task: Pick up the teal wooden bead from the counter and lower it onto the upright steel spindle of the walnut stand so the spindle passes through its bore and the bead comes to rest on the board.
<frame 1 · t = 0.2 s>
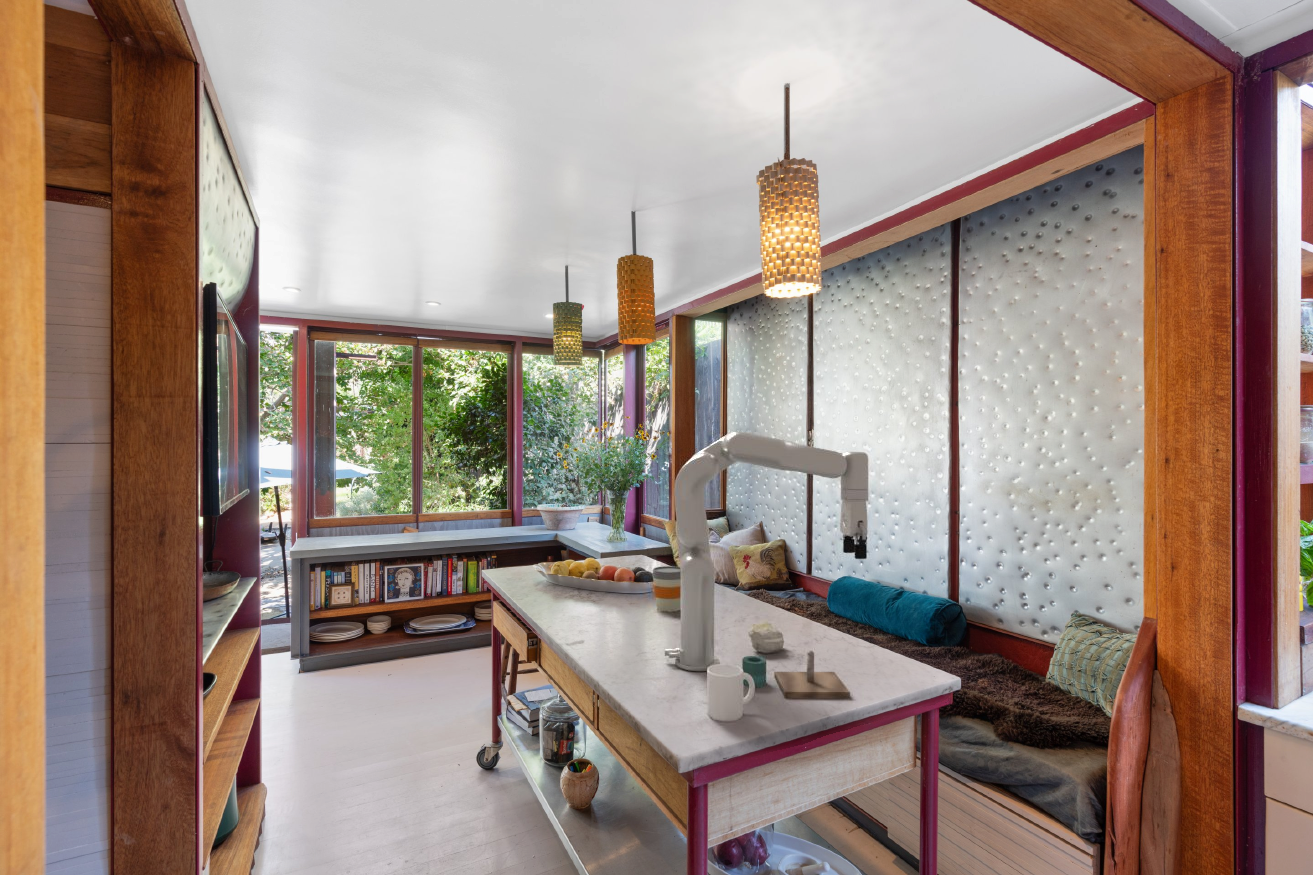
hand: (854, 555, 180), 31 cm above the table, tool pointing down, fingers open, 9 cm apart
spindle stand: (810, 687, 163), on the table
bead: (754, 682, 166), on the table
reusable coffee cup: (668, 609, 241), on the table
mug: (732, 714, 147), on the table
fossil replica: (767, 651, 192), on the table
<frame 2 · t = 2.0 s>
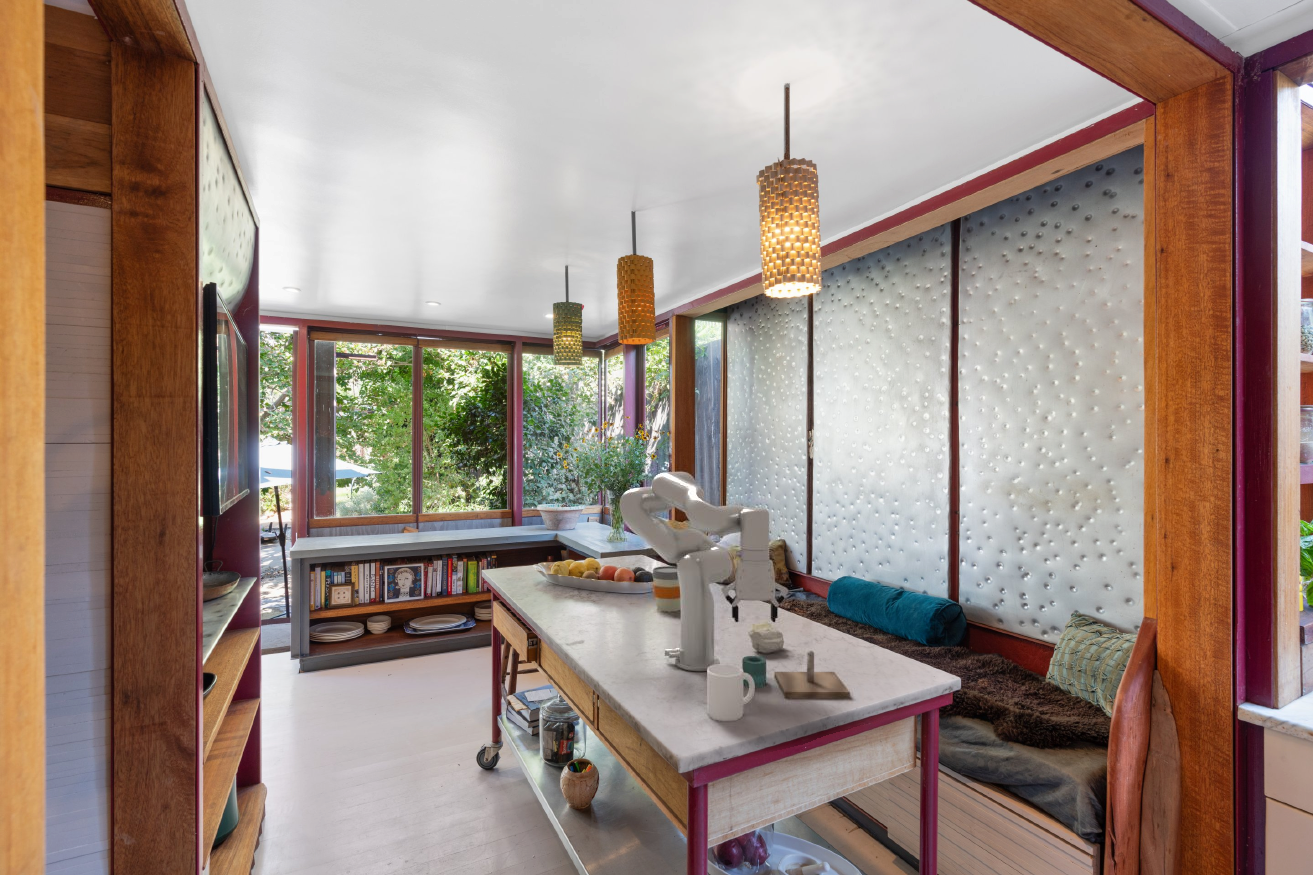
hand: (754, 620, 166), 16 cm above the table, tool pointing down, fingers open, 9 cm apart
nothing on the table moved.
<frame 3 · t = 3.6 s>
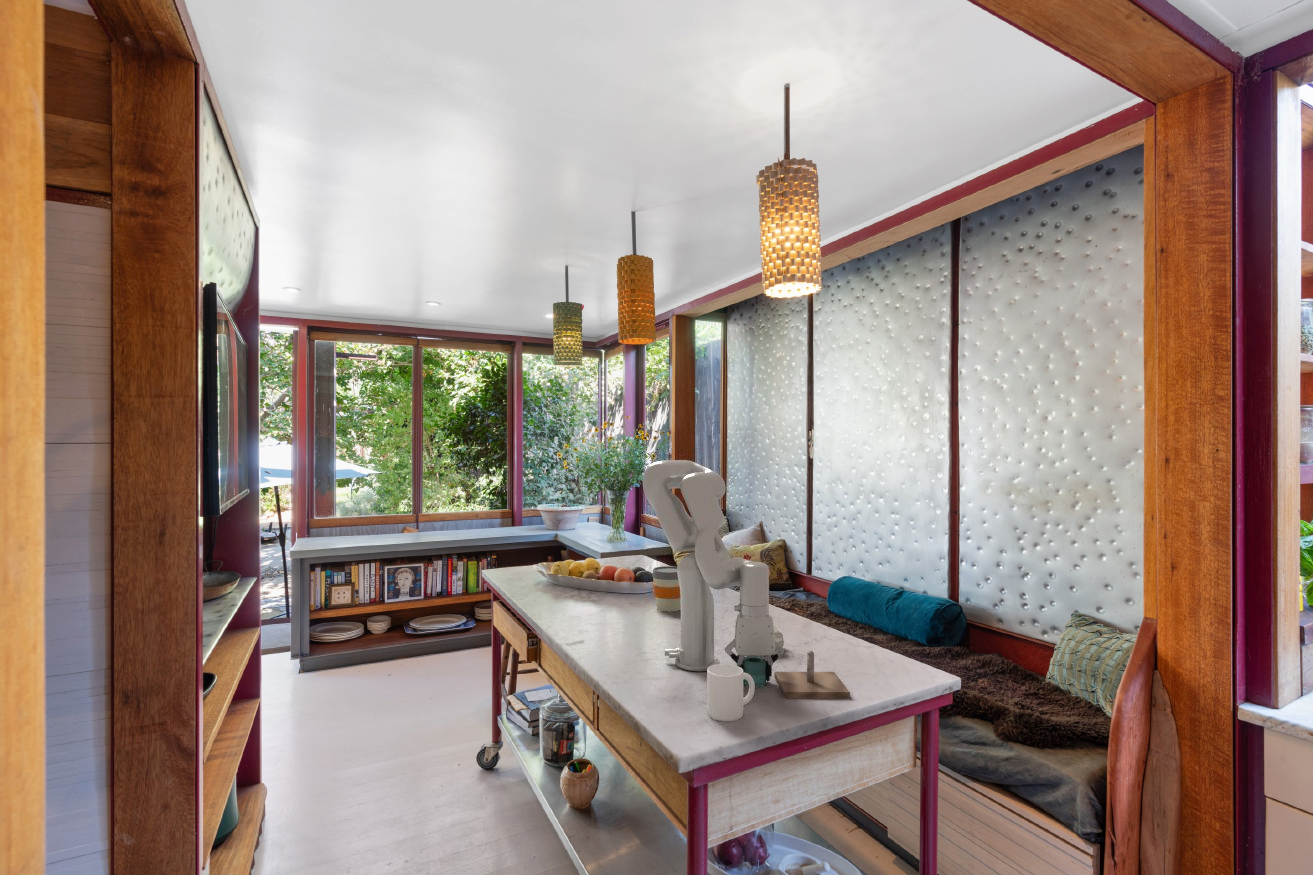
hand: (754, 678, 166), 1 cm above the table, tool pointing down, fingers closed on bead, 6 cm apart
bead: (754, 682, 166), on the table, touching gripper
everything else where it was.
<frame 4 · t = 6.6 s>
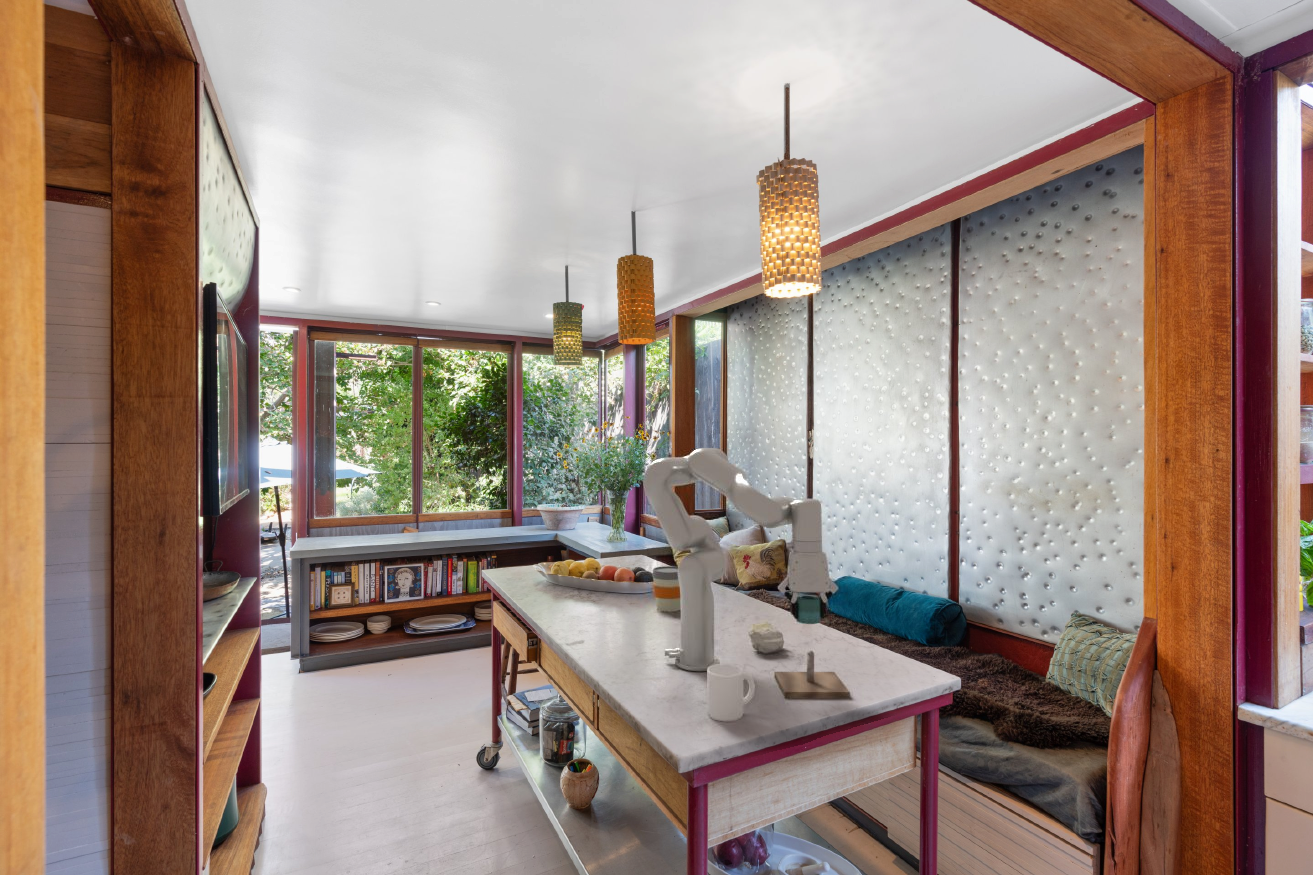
hand: (808, 616, 163), 18 cm above the table, tool pointing down, fingers closed on bead, 6 cm apart
bead: (808, 620, 163), point 17 cm above the table, touching gripper
everything else where it was.
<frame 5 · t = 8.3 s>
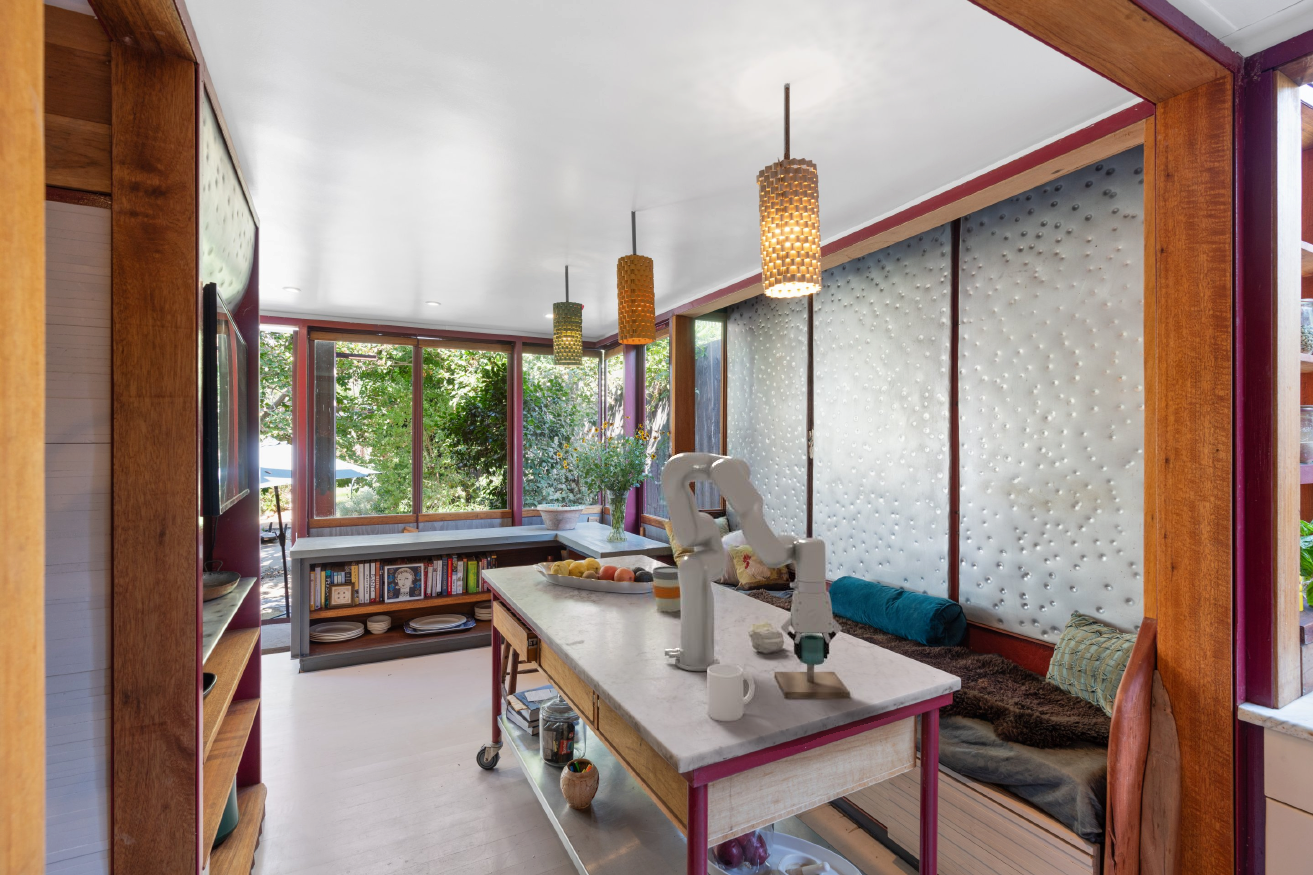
hand: (811, 656, 163), 8 cm above the table, tool pointing down, fingers closed on bead, 6 cm apart
bead: (811, 660, 163), point 7 cm above the table, touching gripper
everything else where it was.
when the fingers open (5 cm above the table, at t = 9.3 s): bead drops 2 cm, resting on spindle stand.
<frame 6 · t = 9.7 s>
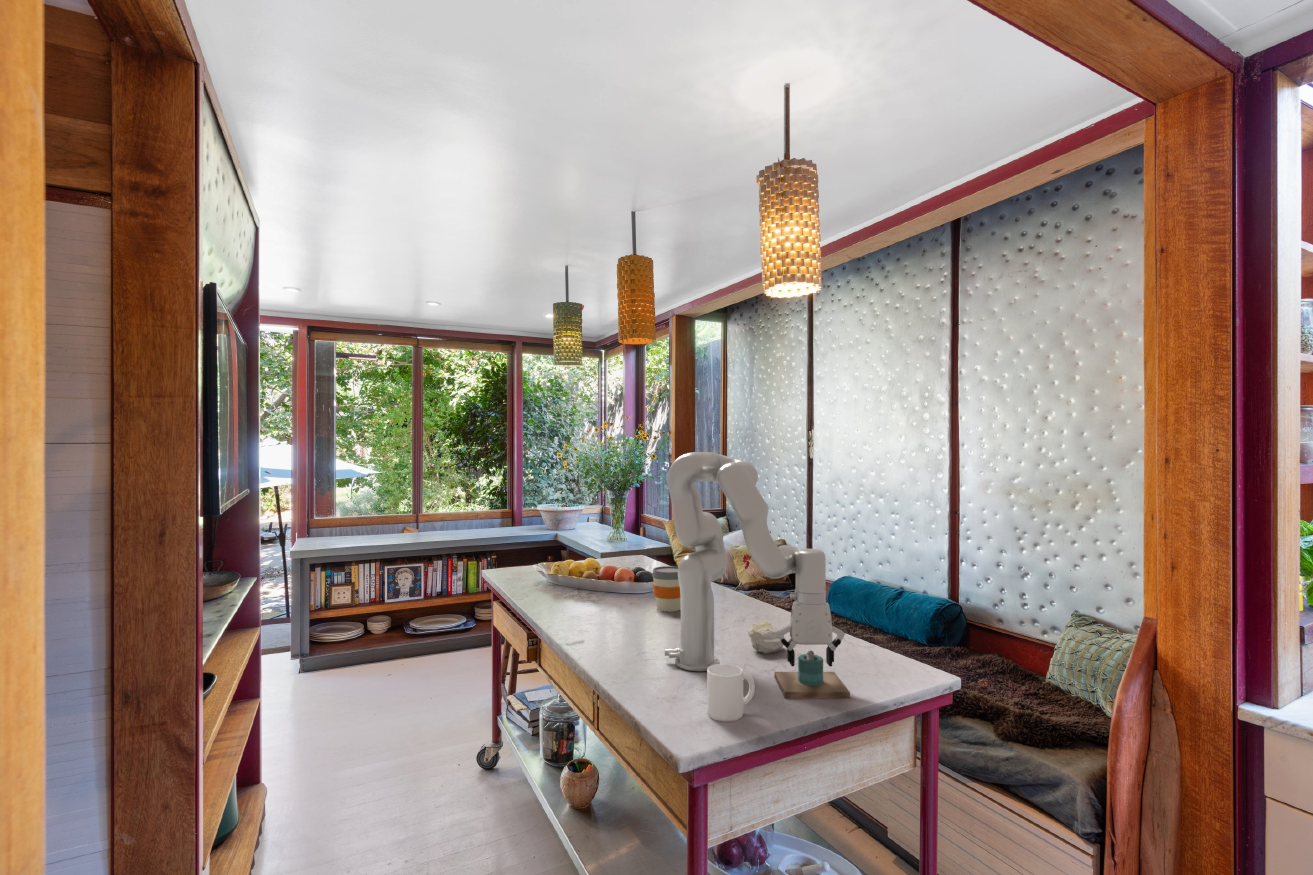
hand: (810, 664, 163), 6 cm above the table, tool pointing down, fingers open, 9 cm apart
bead: (810, 681, 163), point 1 cm above the table, touching spindle stand
everything else where it was.
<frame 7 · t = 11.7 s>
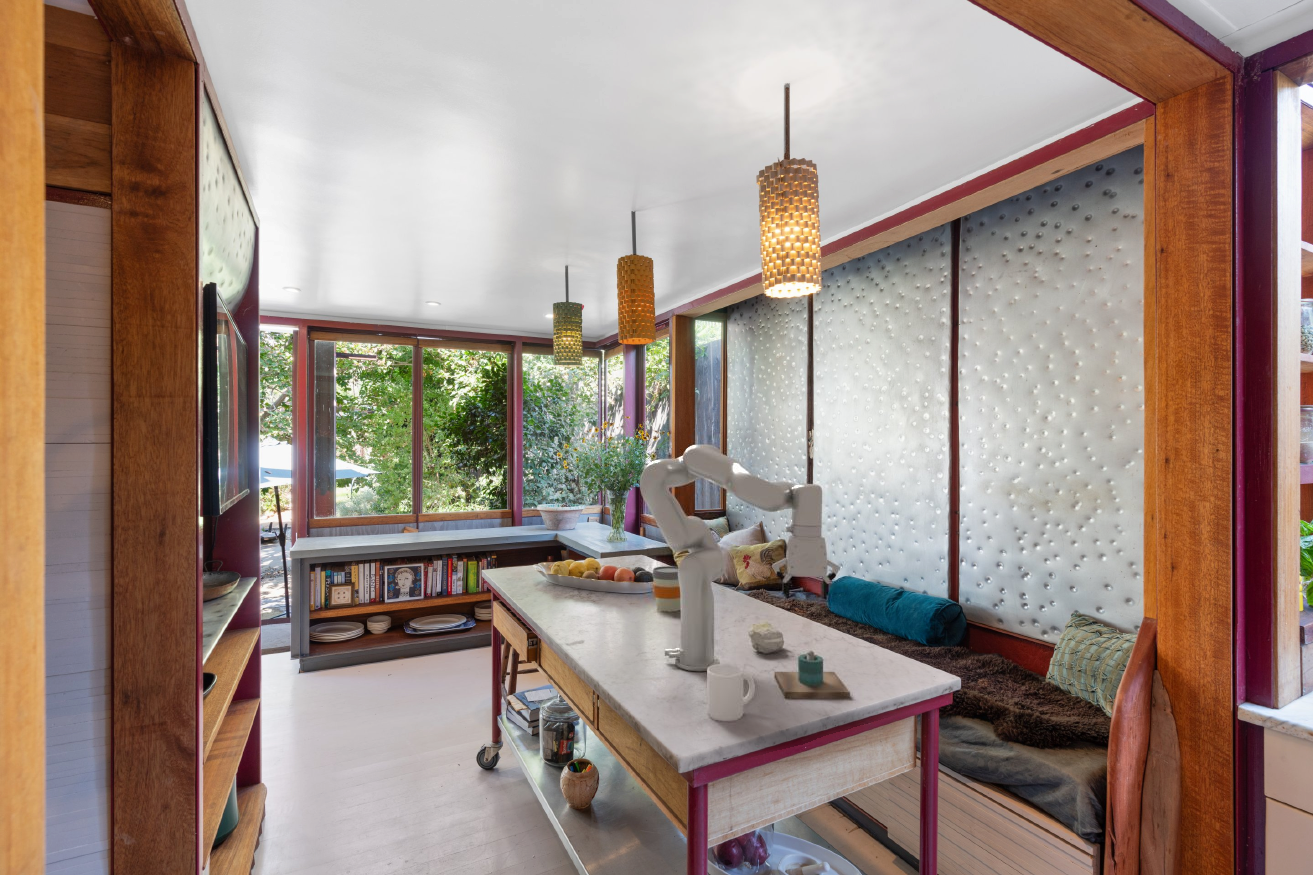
hand: (805, 597, 165), 23 cm above the table, tool pointing down, fingers open, 9 cm apart
nothing on the table moved.
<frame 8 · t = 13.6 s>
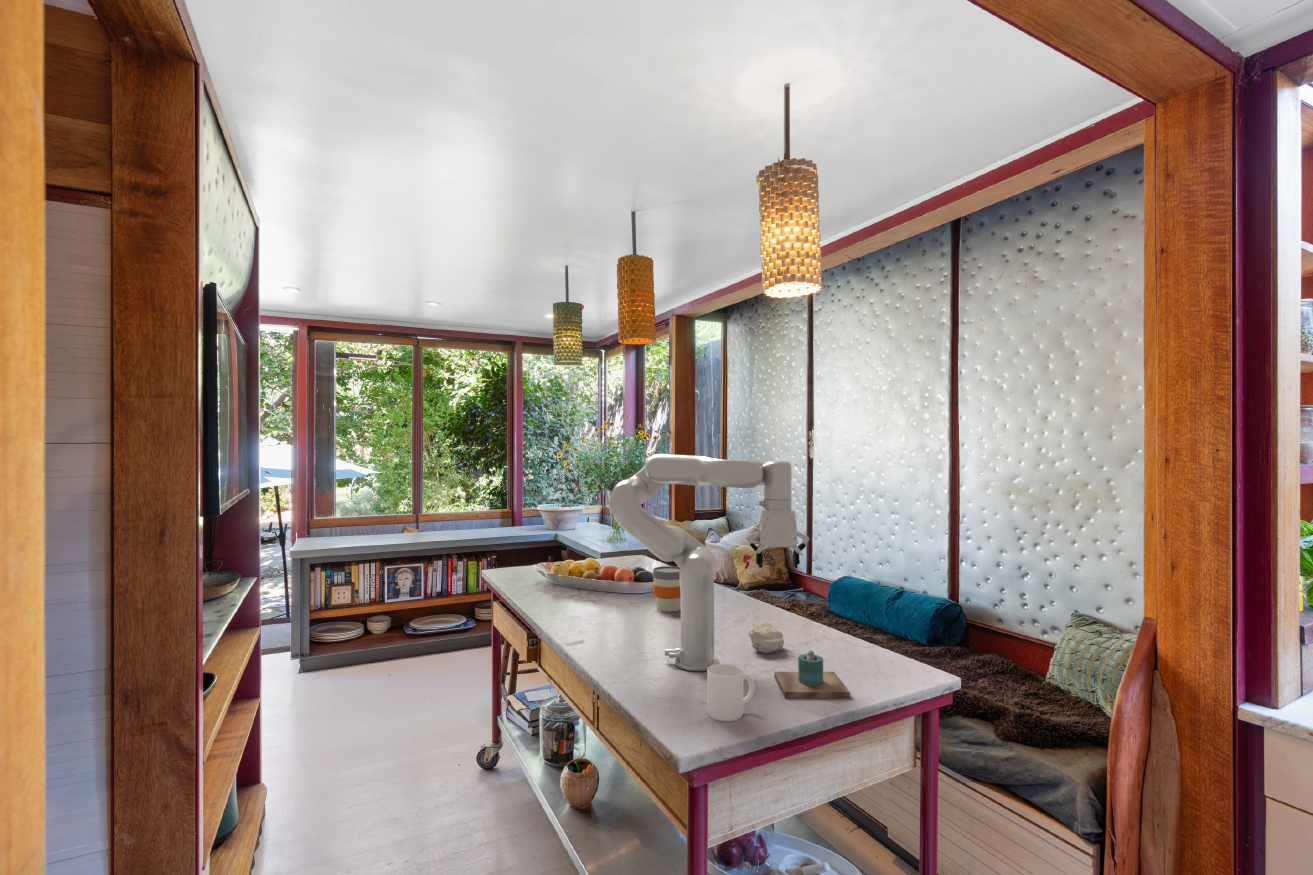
hand: (777, 567, 176), 28 cm above the table, tool pointing down, fingers open, 9 cm apart
nothing on the table moved.
at the end: bead 0.0 cm from the spindle stand (horizontally); bead point 1.5 cm above the table; the gripper is holding nothing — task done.
